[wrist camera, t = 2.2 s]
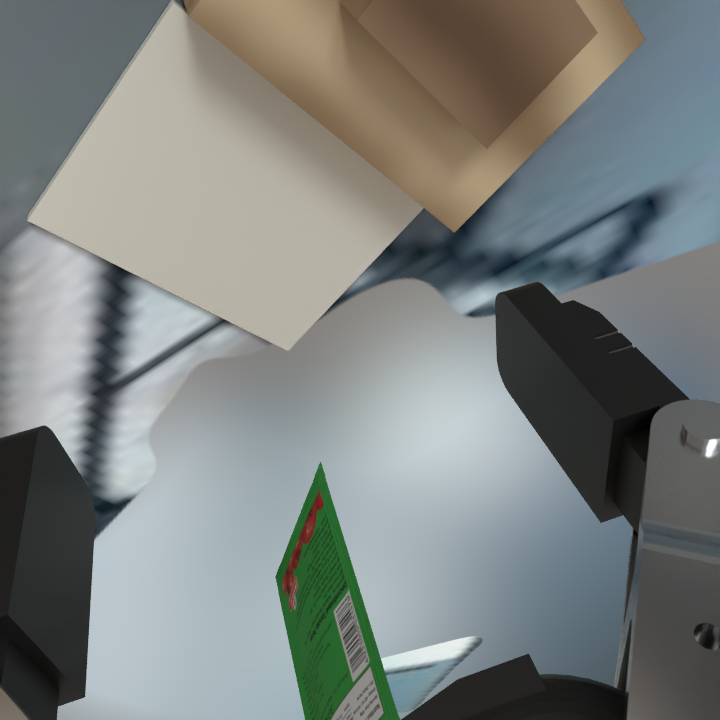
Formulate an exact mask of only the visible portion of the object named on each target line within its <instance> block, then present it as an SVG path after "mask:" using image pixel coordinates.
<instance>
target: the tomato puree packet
mask: <svg viewBox="0 0 720 720" xmlns="http://www.w3.org/2000/svg"><path fill="white" fill-rule="evenodd" d="M276 581H277V586H278V591H279V596H280V601H281V606H282V611H283V615H284V620H285V625H286V630H287V635H288V639H289V644H290V649H291V653H292V658H293V663H294V668H295V673H296V677H297V682H298V687H299V692H300V696H301V701H302V706H303V711H304V715H305V720H400V718H399V716H398V713H397V710H396V707H395V704H394V701H393V697H392V694H391V691H390V688H389V684H388V681H387V678H386V675H385V671H384V668H383V665H382V661H381V658H380V655H379V652H378V648H377V645H376V642H375V638H374V635H373V632H372V629H371V625H370V622H369V619H368V615H367V613H366V609H365V606H364V602H363V599H362V596H361V593H360V589H359V586H358V583H357V580H356V576H355V573H354V570H353V566H352V564H351V560H350V557H349V553H348V550H347V547H346V544H345V541H344V537H343V534H342V531H341V527H340V524H339V521H338V518H337V515H336V511H335V508H334V505H333V502H332V499H331V495H330V492H329V489H328V485H327V482H326V478H325V473H324V471H323V468H322V464H321V462H320V464H319V467H318V469H317V472H316V474H315V478H314V481H313V483H312V486H311V488H310V490H309V493H308V495H307V498H306V500H305V503H304V505H303V508H302V510H301V513H300V516H299V518H298V521H297V524H296V526H295V529H294V531H293V533H292V536H291V539H290V541H289V544H288V546H287V549H286V552H285V554H284V557H283V560H282V562H281V564H280V566H279V569H278V572H277V575H276Z"/></svg>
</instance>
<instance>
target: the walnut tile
mask: <svg viewBox="0 0 720 720" xmlns="http://www.w3.org/2000/svg"><path fill="white" fill-rule="evenodd" d="M339 2H340V3H341V4H342V5H343V6H344V7H345V8H346V9H347V10H348V11H349V12H350V13H351V15H352V16H353V17H354V18H355V19H356V20H357V21H358V22H359V23H360V24H361V25H362V26H363V27H364V28H365V29H366V30H367V31H368V32H369V33H370V34H371V35H372V36H373V37H374V38H375V39H376V40H377V41H378V42H379V43H380V44H381V45H382V46H383V47H384V48H385V49H386V50H387V51H388V52H389V53H390V54H391V55H392V56H393V57H394V58H395V59H396V60H397V61H398V62H399V63H400V64H401V65H402V66H403V67H404V68H405V69H406V70H407V71H408V72H409V73H410V74H411V75H412V76H413V77H414V78H415V79H416V80H418V81H419V82H420V83H421V84H422V85H423V86H424V87H425V88H426V89H427V90H428V91H429V92H430V93H431V94H432V95H433V96H434V97H435V98H436V99H437V100H438V101H439V102H440V103H441V104H442V105H443V106H444V107H445V108H446V109H447V110H448V111H449V112H450V113H451V114H452V115H453V116H454V117H455V118H456V119H457V120H458V121H459V122H460V123H461V124H462V125H463V126H464V127H465V128H466V129H467V130H468V131H469V132H470V133H471V134H472V135H473V136H474V137H475V138H476V139H477V140H478V141H479V142H480V143H481V144H482V145H483V146H484V147H485V148H486V149H488V148H489V147H490V146H491V145H492V143H493V142H494V141H495V140H496V139H497V138H498V137H499V136H500V135H501V134H502V133H503V132H504V131H505V130H506V129H507V128H508V127H509V126H510V125H511V124H512V123H513V121H514V120H515V119H516V118H517V117H518V116H519V115H520V114H521V113H522V112H523V111H524V110H525V109H526V108H527V107H528V106H529V105H530V104H531V103H532V102H533V101H534V99H535V98H536V97H537V96H538V95H539V94H540V93H541V92H542V91H543V90H544V89H545V88H546V87H547V86H548V85H549V84H550V83H551V82H552V81H553V80H554V79H555V77H556V76H557V75H558V74H559V73H560V72H561V71H562V70H563V69H564V68H565V67H566V66H567V65H568V64H569V63H570V62H571V61H572V60H573V59H574V58H575V57H576V55H577V54H578V53H579V52H580V51H581V50H582V49H583V48H584V47H585V46H586V45H587V44H588V43H589V42H590V41H591V40H592V39H593V38H594V37H595V36H596V35H597V33H598V32H597V31H596V29H595V28H594V26H593V25H592V23H591V22H590V20H589V19H588V18H587V16H586V15H585V13H584V12H583V10H582V9H581V8H580V6H579V5H578V3H577V2H576V0H340V1H339Z"/></svg>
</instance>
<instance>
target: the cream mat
mask: <svg viewBox="0 0 720 720" xmlns="http://www.w3.org/2000/svg"><path fill="white" fill-rule="evenodd" d="M423 209H424V208H423V207H422V206H421V205H420V204H419V203H417V202H416V201H415V200H414V199H412V198H411V197H410V196H409V195H407V194H406V193H405V192H404V191H403V190H401V189H400V188H399V187H398V186H396V185H395V184H394V183H393V182H391V181H390V180H389V179H388V178H387V177H385V176H384V175H383V174H382V173H380V172H379V171H378V170H377V169H376V168H374V167H373V166H372V165H371V164H369V163H368V162H367V161H366V160H364V159H363V158H362V157H361V156H360V155H358V154H357V153H356V152H355V151H353V150H352V149H351V148H350V147H348V146H347V145H346V144H345V143H344V142H342V141H341V140H340V139H339V138H337V137H336V136H335V135H334V134H332V133H331V132H330V131H329V130H328V129H326V128H325V127H324V126H323V125H321V124H320V123H319V122H318V121H316V120H315V119H314V118H313V117H312V116H310V115H309V114H308V113H307V112H305V111H304V110H303V109H302V108H300V107H299V106H298V105H297V104H296V103H294V102H293V101H292V100H291V99H289V98H288V97H287V96H286V95H284V94H283V93H282V92H281V91H280V90H278V89H277V88H276V87H275V86H273V85H272V84H271V83H270V82H268V81H267V80H266V79H265V78H264V77H262V76H261V75H260V74H259V73H257V72H256V71H255V70H254V69H253V68H251V67H250V66H249V65H248V64H246V63H245V62H244V61H243V60H241V59H240V58H239V57H238V56H237V55H235V54H234V53H233V52H232V51H230V50H229V49H228V48H227V47H225V46H224V45H223V44H222V43H221V42H219V41H218V40H217V39H216V38H214V37H213V36H212V35H211V34H209V33H208V32H207V31H206V30H205V29H203V28H202V27H201V26H200V25H198V24H197V23H196V22H195V21H193V20H192V19H191V18H190V17H189V16H188V13H187V10H186V9H185V8H183V7H182V6H181V5H180V4H179V3H177V2H176V1H175V0H171V1H170V3H169V4H168V6H167V7H166V9H165V10H164V12H163V13H162V15H161V16H160V18H159V19H158V21H157V22H156V24H155V25H154V27H153V28H152V30H151V31H150V33H149V34H148V36H147V37H146V39H145V40H144V42H143V43H142V45H141V46H140V48H139V49H138V51H137V52H136V54H135V55H134V57H133V58H132V60H131V61H130V63H129V64H128V66H127V67H126V69H125V70H124V72H123V73H122V75H121V76H120V78H119V79H118V81H117V82H116V84H115V85H114V87H113V88H112V90H111V91H110V93H109V94H108V96H107V97H106V99H105V100H104V102H103V103H102V105H101V106H100V108H99V109H98V111H97V112H96V114H95V115H94V117H93V118H92V120H91V121H90V123H89V124H88V126H87V127H86V129H85V130H84V132H83V133H82V135H81V136H80V138H79V139H78V141H77V142H76V144H75V145H74V147H73V148H72V150H71V151H70V153H69V154H68V156H67V157H66V158H65V160H64V161H63V163H62V164H61V166H60V167H59V169H58V170H57V172H56V173H55V175H54V176H53V178H52V179H51V181H50V182H49V184H48V185H47V187H46V188H45V190H44V191H43V193H42V194H41V196H40V197H39V199H38V200H37V202H36V203H35V205H34V206H33V208H32V209H31V211H30V212H29V214H28V219H27V221H29V222H31V223H33V224H35V225H37V226H39V227H41V228H43V229H45V230H47V231H49V232H51V233H53V234H55V235H57V236H59V237H61V238H63V239H65V240H67V241H69V242H71V243H73V244H75V245H77V246H79V247H81V248H83V249H85V250H87V251H89V252H91V253H93V254H95V255H97V256H99V257H101V258H103V259H105V260H107V261H109V262H111V263H113V264H115V265H117V266H119V267H121V268H123V269H125V270H127V271H129V272H131V273H133V274H135V275H137V276H139V277H141V278H143V279H145V280H147V281H149V282H151V283H153V284H155V285H157V286H159V287H161V288H163V289H165V290H167V291H169V292H171V293H173V294H175V295H177V296H179V297H181V298H183V299H185V300H187V301H189V302H191V303H193V304H195V305H197V306H199V307H201V308H203V309H205V310H207V311H209V312H211V313H213V314H215V315H217V316H219V317H221V318H223V319H225V320H227V321H229V322H231V323H233V324H235V325H237V326H239V327H241V328H243V329H245V330H247V331H249V332H251V333H253V334H255V335H257V336H259V337H261V338H263V339H265V340H267V341H269V342H271V343H273V344H275V345H277V346H279V347H281V348H283V349H285V350H287V351H289V350H290V349H291V348H292V347H293V345H294V344H295V343H296V342H297V341H298V340H299V339H300V338H301V337H302V336H303V335H304V334H305V333H306V332H307V331H308V330H309V329H310V327H311V326H312V325H313V324H314V323H315V322H316V321H317V320H318V319H319V318H320V317H321V316H322V315H323V314H324V313H325V312H326V311H327V310H328V309H329V308H330V306H331V305H332V304H333V303H334V302H335V301H336V300H337V299H338V298H339V297H340V296H341V295H342V294H343V293H344V292H345V291H346V290H347V289H348V288H349V286H350V285H351V284H352V283H353V282H354V281H355V280H356V279H357V278H358V277H359V276H360V275H361V274H362V273H363V272H364V271H365V270H366V269H367V267H368V266H369V265H370V264H371V263H372V262H373V261H374V260H375V259H376V258H377V257H378V256H379V255H380V254H381V253H382V252H383V251H384V250H385V249H386V247H387V246H388V245H389V244H390V243H391V242H392V241H393V240H394V239H395V238H396V237H397V236H398V235H399V234H400V233H401V232H402V231H403V230H404V229H405V227H406V226H407V225H408V224H409V223H410V222H411V221H412V220H413V219H414V218H415V217H416V216H417V215H418V214H419V213H420V212H421V211H422V210H423Z"/></svg>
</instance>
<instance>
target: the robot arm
mask: <svg viewBox="0 0 720 720" xmlns="http://www.w3.org/2000/svg"><path fill="white" fill-rule="evenodd" d="M495 313H496V345H497V363H498V368H499V372H500V375H501V378H502V381H503V383H504V385H505V387H506V389H507V391H508V392H509V394H510V395H511V397H512V398H513V399H514V401H515V402H516V403H517V405H518V406H519V408H520V409H521V410H522V412H523V413H524V415H525V416H526V418H527V419H528V421H529V422H530V423H531V425H532V426H533V428H534V429H535V430H536V432H537V433H538V435H539V436H540V437H541V439H542V440H543V442H544V443H545V444H546V446H547V447H548V449H549V450H550V451H551V453H552V454H553V456H554V457H555V459H556V460H557V461H558V463H559V464H560V465H561V467H562V469H563V470H564V471H565V473H566V474H567V476H568V477H569V478H570V480H571V481H572V483H573V484H574V485H575V487H576V488H577V489H578V491H579V492H580V494H581V495H582V497H583V498H584V500H585V501H586V502H587V504H588V505H589V507H590V508H591V509H592V511H593V512H594V514H595V515H596V516H597V518H598V519H599V521H600V522H601V523H602V522H604V521H608V520H610V519H613V518H616V517H619V516H622V515H624V517H625V518H626V519H627V521H628V522H629V523H630V525H631V526H632V527H633V530H632V536H631V544H630V554H629V563H628V573H627V582H626V592H625V602H624V610H623V620H622V630H621V638H620V646H619V653H618V660H617V668H616V675H615V683H614V687H613V686H610V685H607V684H604V683H601V682H598V681H594V680H591V679H587V678H582V677H576V676H571V675H557V674H542V675H539V673H538V672H537V670H536V667H535V665H534V663H533V661H532V659H531V657H530V655H529V654H527V655H524V656H521V657H518V658H516V659H513V660H510V661H507V662H505V663H502V664H499V665H497V666H494V667H491V668H488V669H486V670H482V671H480V672H477V673H474V674H472V675H469V676H466V677H463V678H460V679H458V680H456V681H455V682H453V683H452V684H451V685H449V686H448V687H447V688H445V689H444V690H442V691H441V692H439V693H438V694H437V695H435V696H434V697H432V698H431V699H430V700H428V701H427V702H425V703H424V704H422V705H421V706H420V707H418V708H417V709H415V710H414V711H413V712H411V713H410V714H409V715H407V716H406V717H405V718H403V719H401V720H720V404H718V403H715V402H711V401H705V400H690V399H689V398H688V397H687V396H686V395H685V394H684V393H683V392H682V391H681V390H680V389H679V388H678V387H676V386H675V385H674V384H673V383H672V382H671V381H670V380H669V379H668V378H667V377H666V376H665V375H664V374H663V373H662V372H661V371H660V370H659V369H658V368H657V367H656V366H655V365H653V363H651V361H650V360H649V359H647V358H646V357H645V356H644V355H643V354H642V353H641V352H640V351H639V350H638V349H637V348H636V347H635V348H633V346H632V343H631V342H630V341H629V340H628V339H627V338H626V337H625V336H623V334H621V333H618V331H617V329H616V328H615V327H614V326H613V325H612V324H611V323H610V322H609V321H608V320H607V319H606V318H605V317H604V316H603V315H602V314H601V313H600V312H598V311H596V310H594V309H591V308H589V307H587V306H585V305H583V304H580V303H578V302H576V301H574V300H572V301H569V302H566V303H562V304H561V303H560V302H559V301H558V300H557V299H556V297H555V296H554V295H553V294H552V293H551V292H550V291H549V290H548V289H547V288H546V287H545V286H544V285H543V284H541V283H540V282H535V283H531V284H528V285H525V286H521V287H518V288H514V289H511V290H508V291H504V292H501V293H498V294H497V296H496V301H495ZM94 529H95V510H94V504H93V500H92V497H91V494H90V491H89V489H88V487H87V485H86V483H85V481H84V480H83V478H82V476H81V475H80V473H79V472H78V470H77V469H76V467H75V465H74V464H73V462H72V461H71V459H70V458H69V456H68V455H67V453H66V451H65V450H64V448H63V447H62V445H61V444H60V442H59V440H58V439H57V437H56V436H55V434H54V433H53V431H52V430H51V429H50V428H48V427H47V426H40V427H37V428H34V429H30V430H27V431H23V432H20V433H17V434H13V435H10V436H6V437H3V438H0V720H57V709H58V706H61V705H64V704H66V703H69V702H72V701H75V700H78V699H81V698H84V697H85V687H86V669H87V652H88V635H89V617H90V600H91V582H92V581H91V580H92V564H93V546H94Z"/></svg>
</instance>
